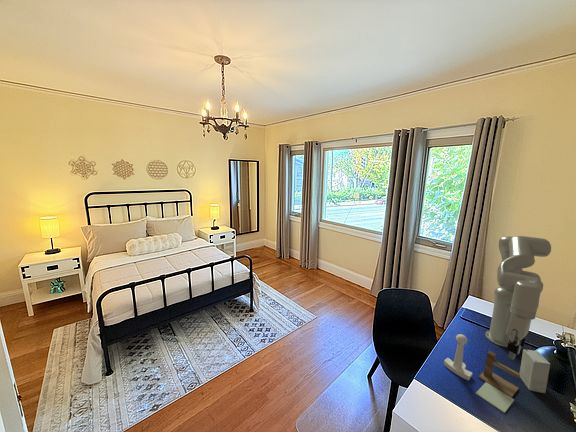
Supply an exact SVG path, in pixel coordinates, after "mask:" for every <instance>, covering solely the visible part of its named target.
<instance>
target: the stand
mask: <svg viewBox="0 0 576 432" xmlns="http://www.w3.org/2000/svg"><path fill="white" fill-rule="evenodd" d="M496 356H497V353H495V352H493V351H491V350H489V351H488V352H487V353H486V359H485V366H484V369H483V370H484V371H482V373H481V374H480V375H479V376H478V379H480V380H481V381H483V382H484V383H485V382H487V383H488V384H490V385H492V386H493V387H495V388H496V389H498V390H500V391H501V392H503V393H504V394H506V395H508V396H509V397H511V398H513V397H514V395H515V394H516V393H517V392H518V391H519V389H520V388H519V387H518V386H516V384H513V383H511V382H510V381H508V380H507V379H504V378H503V377H501V376H500V375H498V374H496V373H494V366H495V367H498V368H499V369H501V370H502V371H505V372H506V373H508V374H510V375H512V376H514V377H515V378H517V379H519V378H520V374H519V373H520V372H518V371H515V370H513V369H511V367H508V366H506V365H504V364H503V363H501V362H499V361H498V360H496Z"/></svg>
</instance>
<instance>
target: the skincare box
mask: <svg viewBox="0 0 576 432" xmlns="http://www.w3.org/2000/svg"><path fill="white" fill-rule="evenodd" d="M550 369H551V363H550V362H549V361H548V360H547V358H545V357H544V356H543V355H542V354H541V352H539V351H538V350H531V349H525V348H524V349H523V350H522V356H521V363H520V368H519V372H518V373H519V374H520V377H519V378H520V380H521V381H522V382H523V383H524V384H525V386H526V387H527V389H528V390H529V391H532V392H536V393H541V394H546V393H547V392H546V391H547V386H548V380H549V374H550Z"/></svg>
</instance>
